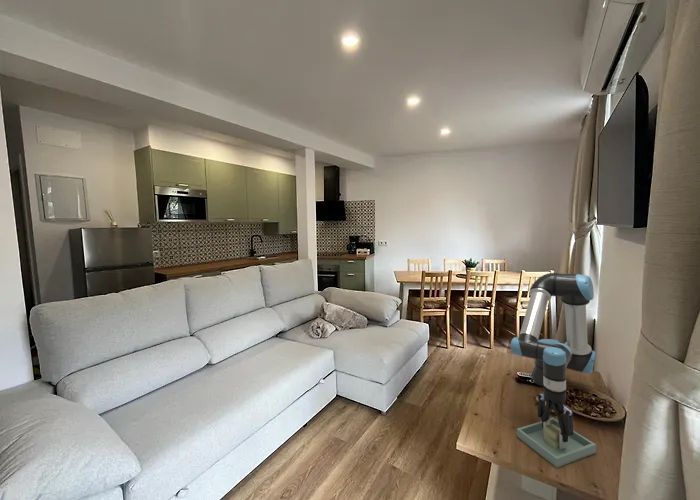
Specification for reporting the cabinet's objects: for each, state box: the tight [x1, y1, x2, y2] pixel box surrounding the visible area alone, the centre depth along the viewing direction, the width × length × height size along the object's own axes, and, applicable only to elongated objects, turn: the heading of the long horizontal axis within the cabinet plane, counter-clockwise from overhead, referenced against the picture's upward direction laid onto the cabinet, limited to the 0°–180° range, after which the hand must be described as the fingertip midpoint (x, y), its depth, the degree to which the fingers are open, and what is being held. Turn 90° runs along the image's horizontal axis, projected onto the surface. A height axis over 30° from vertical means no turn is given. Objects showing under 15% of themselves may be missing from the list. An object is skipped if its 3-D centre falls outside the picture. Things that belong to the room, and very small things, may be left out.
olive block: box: [544, 424, 561, 449], centre depth 124 cm, size 5×5×6 cm
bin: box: [516, 417, 597, 469], centre depth 125 cm, size 20×18×4 cm
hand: (554, 442), depth 125 cm, fingers open, 6 cm apart
